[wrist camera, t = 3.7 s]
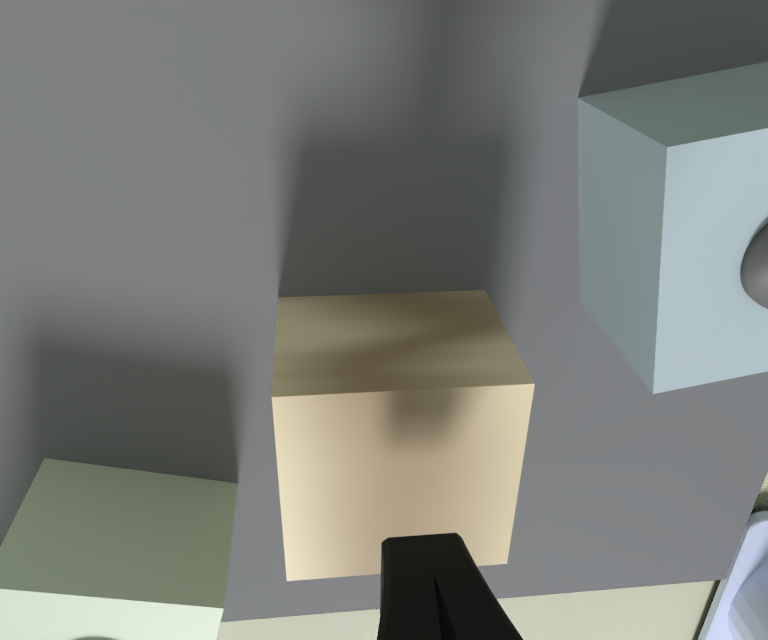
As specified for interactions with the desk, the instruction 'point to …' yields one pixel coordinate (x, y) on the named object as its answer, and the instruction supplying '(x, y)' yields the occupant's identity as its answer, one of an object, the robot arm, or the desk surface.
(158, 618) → the sage dotted block
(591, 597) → the desk surface
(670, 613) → the desk surface
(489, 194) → the rubber mat
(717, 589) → the robot arm
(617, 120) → the slate dotted block
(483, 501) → the beech block
